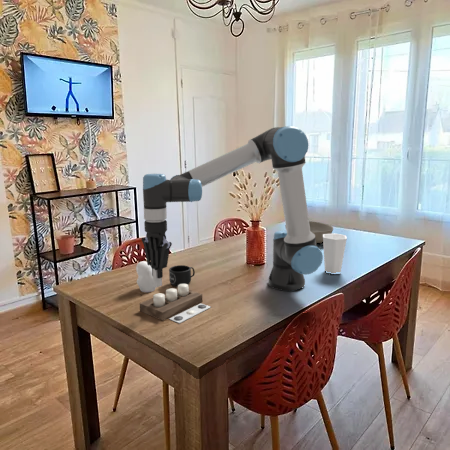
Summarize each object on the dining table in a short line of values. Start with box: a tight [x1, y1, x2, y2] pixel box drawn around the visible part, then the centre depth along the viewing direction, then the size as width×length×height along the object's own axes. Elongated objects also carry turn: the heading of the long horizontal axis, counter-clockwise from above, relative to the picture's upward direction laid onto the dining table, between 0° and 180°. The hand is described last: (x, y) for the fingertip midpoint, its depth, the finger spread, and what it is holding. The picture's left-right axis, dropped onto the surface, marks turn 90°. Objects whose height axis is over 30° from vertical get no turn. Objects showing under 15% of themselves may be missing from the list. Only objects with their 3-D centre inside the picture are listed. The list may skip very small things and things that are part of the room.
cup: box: [322, 232, 348, 273], centre depth 177 cm, size 11×10×17 cm
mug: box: [168, 264, 196, 288], centre depth 165 cm, size 12×9×7 cm
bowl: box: [284, 220, 334, 245], centre depth 231 cm, size 28×28×10 cm
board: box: [139, 287, 203, 321], centre depth 143 cm, size 12×20×3 cm, turn 141°
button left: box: [152, 292, 165, 308], centre depth 138 cm, size 4×4×4 cm
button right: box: [177, 284, 190, 297], centre depth 147 cm, size 4×4×4 cm
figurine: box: [135, 260, 157, 293], centre depth 158 cm, size 7×8×12 cm
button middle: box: [165, 287, 177, 302], centre depth 143 cm, size 4×4×4 cm
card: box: [168, 302, 212, 324], centre depth 138 cm, size 5×16×1 cm, turn 141°
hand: (157, 285), depth 137 cm, fingers closed
